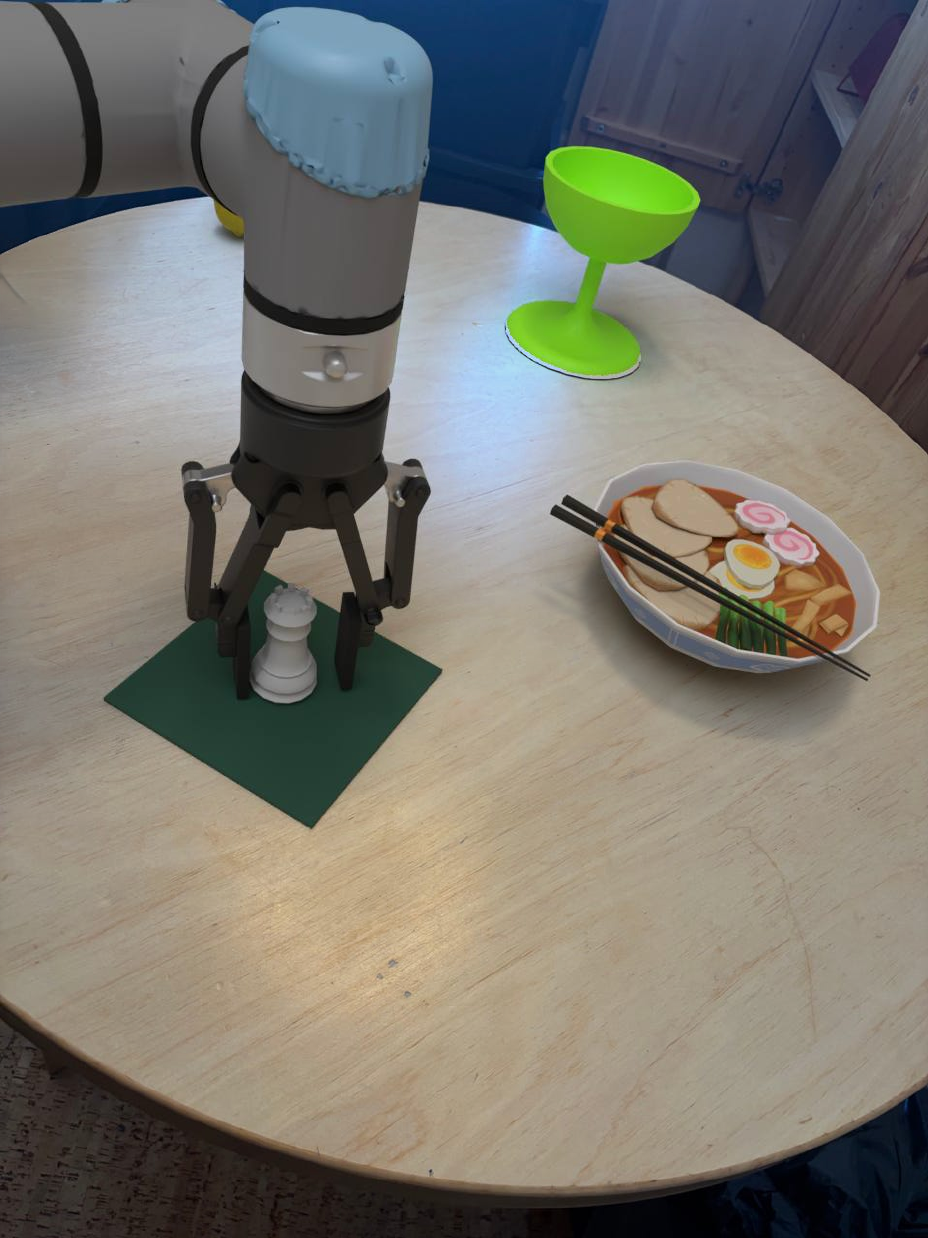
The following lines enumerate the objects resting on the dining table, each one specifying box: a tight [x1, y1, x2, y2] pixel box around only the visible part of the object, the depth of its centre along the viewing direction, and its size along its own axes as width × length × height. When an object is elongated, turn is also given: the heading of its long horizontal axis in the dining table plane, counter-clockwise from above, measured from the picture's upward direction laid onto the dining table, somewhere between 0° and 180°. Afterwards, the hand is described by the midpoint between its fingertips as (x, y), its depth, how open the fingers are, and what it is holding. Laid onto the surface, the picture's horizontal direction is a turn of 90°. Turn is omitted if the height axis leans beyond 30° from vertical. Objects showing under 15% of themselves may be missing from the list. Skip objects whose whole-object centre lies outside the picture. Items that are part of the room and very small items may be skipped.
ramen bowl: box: [549, 459, 881, 682], centre depth 75 cm, size 25×23×8 cm
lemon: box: [213, 199, 244, 237], centre depth 106 cm, size 6×6×8 cm
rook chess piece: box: [250, 582, 317, 704], centre depth 61 cm, size 4×4×8 cm
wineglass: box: [506, 145, 701, 376], centre depth 101 cm, size 16×16×18 cm
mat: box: [103, 569, 443, 829], centre depth 64 cm, size 16×16×1 cm
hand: (292, 678), depth 64 cm, fingers open, 6 cm apart
